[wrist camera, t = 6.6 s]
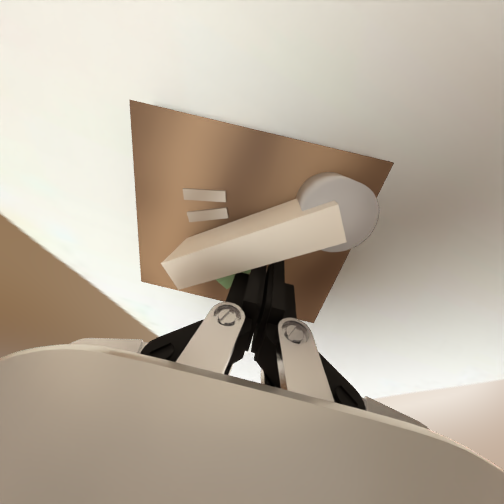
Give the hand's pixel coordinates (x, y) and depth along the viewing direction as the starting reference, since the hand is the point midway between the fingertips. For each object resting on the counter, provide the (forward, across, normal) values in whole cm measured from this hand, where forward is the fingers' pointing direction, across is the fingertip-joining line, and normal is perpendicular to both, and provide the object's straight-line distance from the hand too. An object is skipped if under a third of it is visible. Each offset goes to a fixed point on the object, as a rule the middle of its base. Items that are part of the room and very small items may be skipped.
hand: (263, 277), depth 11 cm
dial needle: (+2, +1, -3) cm, 3 cm away
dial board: (+4, +2, -2) cm, 4 cm away
